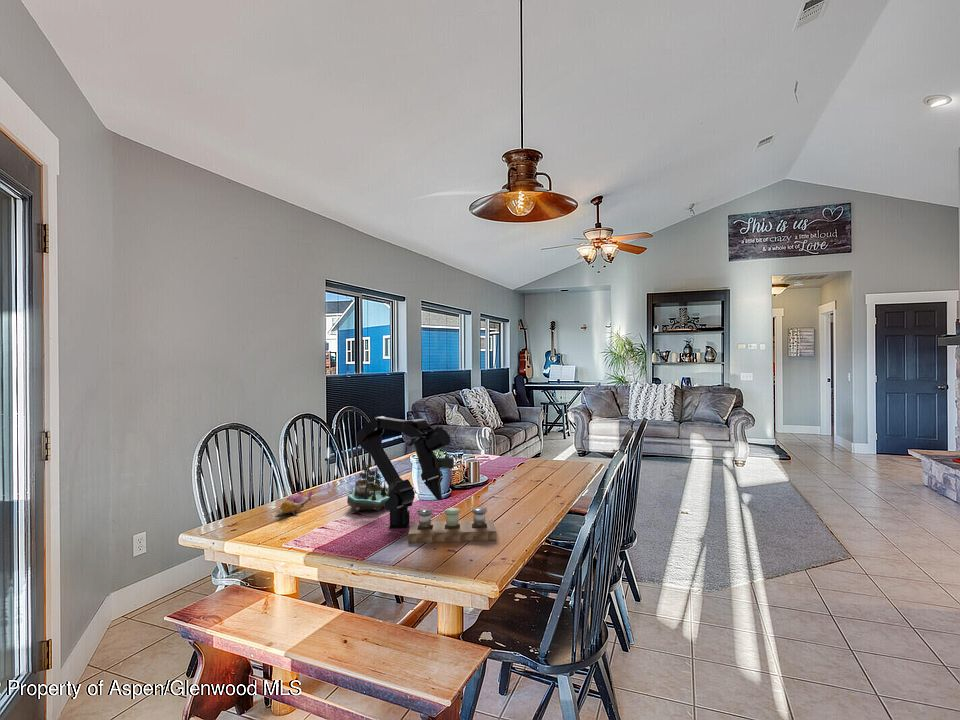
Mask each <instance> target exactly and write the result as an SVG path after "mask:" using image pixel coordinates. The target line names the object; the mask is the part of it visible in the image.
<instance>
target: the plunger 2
mask: <svg viewBox="0 0 960 720" xmlns="http://www.w3.org/2000/svg"><path fill="white" fill-rule="evenodd" d="M487 512H488V509H487V508H486V507H482V506H478V507H473V508H471V513H472V514H473V515H472V517H473V520H472V521H473V524H474V525H484V524H485V520H486V513H487Z"/></svg>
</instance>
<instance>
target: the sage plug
mask: <svg viewBox="0 0 960 720" xmlns="http://www.w3.org/2000/svg"><path fill="white" fill-rule="evenodd" d="M460 513H461V511H460V508H457V507H448V508H445V509H444V514H445V517H446V518H445V521H446V525H448V526H456V525H458V521H459V514H460Z"/></svg>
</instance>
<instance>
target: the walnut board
mask: <svg viewBox="0 0 960 720" xmlns="http://www.w3.org/2000/svg"><path fill="white" fill-rule="evenodd" d="M410 523H411V524H410V527H409V531H408V535H407V537H408V544H421V543H424V544H426V543H453V542H454V543H455V542H456V543H458V542H459V543H462V542H482V541H483V542H491V541H493V542H495V541H496V542H497V532H496V531H497V530H496V526H495V521H494V519H485V524H484V525H474V524H473V520H458V525H456V526H448V525H446V520H444V521H443V520H442V521H441V520H440V521H431V526H428V527H421V526H419V521H411V522H410Z"/></svg>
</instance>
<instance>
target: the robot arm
mask: <svg viewBox="0 0 960 720" xmlns="http://www.w3.org/2000/svg"><path fill="white" fill-rule="evenodd" d="M385 430H388V431H396V432H401V433H402V434H403V435H405V436H407V437H410V438H411V441H410V442H409V444H408V447H414V450H415V453H416V455H417V456H416V457H417V460H418V464H419V465H420V469H421V474H420V478H421V481H422V482H423V484H424V485H425V486H426V487H427V489H428V490H429V491H430V492H431V494H432V495H433V496H434V497H435V498H436V500H437V501H441V500H442V499H443V494H442V486H441V483H442V481H443V479H444V474H443V472H442V469H451V470H452V469H455V468H454V466H455V459H454V458H451V457H450V456H444V457H443V458H438V457H437V455H436V454H435V451H437V450H440V449H443V448H444V447H448V445H450V444H451V437H450V434H449V433H448V431H446V430H445V429H444V428H443V426H442V425H441V426H437V427H432V426H431V425H430V424H429V423H428V422H427V420H426V419H425V418H416V419H408V420H407V419H399V418H394V417H386V416H383V415H381V416H374V418H372V419H371V420H370V421H369V422H368V423H366V425H364V426H362V427H361V429H359V430H358V431H357V434H356V436H355V437H356V438H355V439H356V442H357V443H358V445H359V446H360V448H361V449H362V450H363V451H365V452H367V453H369V455H370V456H371V458H372V460H373V461H374V463H375V465H376V468H377V469H378V471H380V475H381V476H382V478H383V479H384V481H385V483H386V485H387V487H388V495H389V497H390V498H389V499H388V500H387V501H386V503H385V507H384V508H385V510H386V511H389V525H388V528H389V529H401V528H403V529H404V528H405V529H406V528H408V527H409V525H411V524H410V523H411V511H410V510H409V507H412V506H413V502H414V500H415V495H416V492H415V490H414V489H415V487H414V486H413V485H412V484H411V482H410V480H409V479H408V478H407V479H403V478H401V476H400V474H399V473H398V472H397V470H396V468H395V466H394V465H393V463H392V461H391V460H390V457H388V454H387V453H386V451H385V450H384V447H383V438H382V435H383V434H384V432H385Z"/></svg>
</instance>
